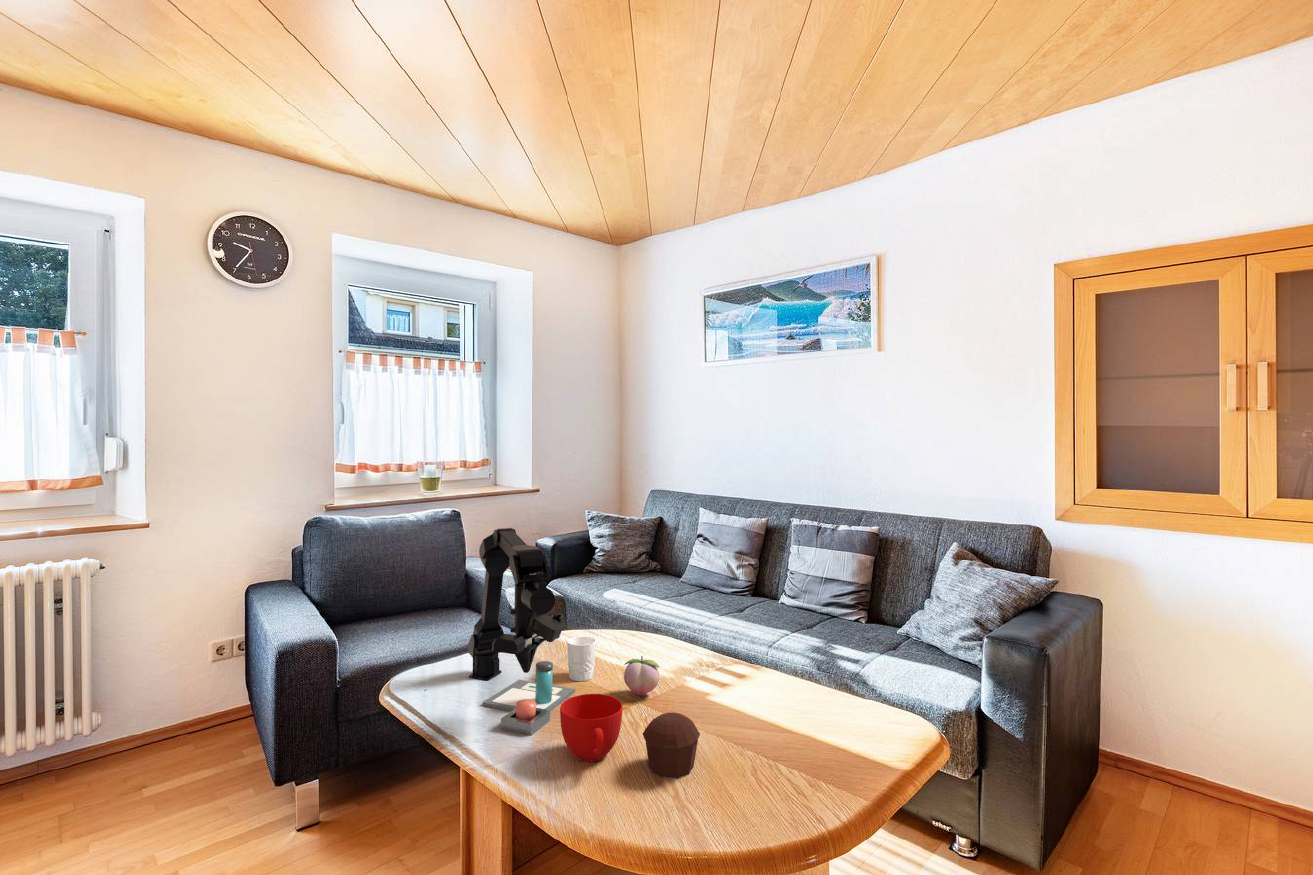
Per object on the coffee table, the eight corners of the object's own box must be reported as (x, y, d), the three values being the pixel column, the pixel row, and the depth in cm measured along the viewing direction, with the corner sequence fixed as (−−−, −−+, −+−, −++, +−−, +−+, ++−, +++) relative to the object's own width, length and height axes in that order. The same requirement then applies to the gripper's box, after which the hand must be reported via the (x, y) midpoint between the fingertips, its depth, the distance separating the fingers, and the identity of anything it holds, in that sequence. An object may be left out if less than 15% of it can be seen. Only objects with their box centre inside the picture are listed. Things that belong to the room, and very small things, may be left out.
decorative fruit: (661, 689, 166) (661, 651, 166) (658, 702, 158) (658, 662, 158) (625, 687, 167) (626, 649, 167) (621, 700, 159) (621, 660, 159)
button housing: (500, 729, 142) (500, 718, 142) (520, 714, 150) (520, 704, 150) (531, 735, 140) (531, 724, 140) (550, 720, 147) (550, 710, 147)
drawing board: (482, 705, 155) (482, 700, 155) (518, 682, 170) (519, 678, 170) (542, 716, 149) (542, 712, 149) (575, 692, 164) (575, 687, 164)
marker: (531, 702, 154) (532, 665, 155) (540, 696, 158) (541, 660, 158) (546, 705, 153) (547, 667, 153) (555, 698, 157) (555, 662, 157)
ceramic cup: (566, 784, 120) (566, 731, 120) (556, 743, 136) (556, 696, 136) (632, 775, 123) (633, 724, 123) (615, 736, 140) (615, 690, 140)
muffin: (667, 747, 135) (667, 700, 135) (710, 764, 128) (711, 714, 128) (630, 769, 126) (631, 718, 126) (674, 789, 119) (675, 735, 119)
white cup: (593, 682, 170) (594, 645, 170) (564, 682, 170) (565, 644, 171) (597, 671, 178) (597, 636, 178) (569, 671, 178) (569, 635, 178)
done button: (512, 720, 143) (512, 705, 143) (522, 713, 148) (523, 697, 148) (528, 724, 142) (529, 708, 142) (539, 716, 146) (539, 700, 146)
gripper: (536, 618, 133) (535, 692, 133) (577, 598, 151) (577, 663, 151) (491, 612, 137) (490, 684, 137) (537, 593, 155) (536, 657, 155)
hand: (526, 672), depth 145 cm, fingers closed
